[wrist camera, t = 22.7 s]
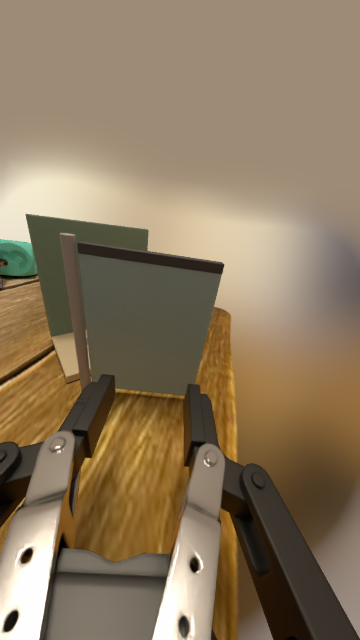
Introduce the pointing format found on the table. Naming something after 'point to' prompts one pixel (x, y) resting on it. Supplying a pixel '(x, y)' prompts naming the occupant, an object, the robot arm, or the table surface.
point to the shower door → (146, 315)
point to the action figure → (1, 263)
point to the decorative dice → (17, 258)
